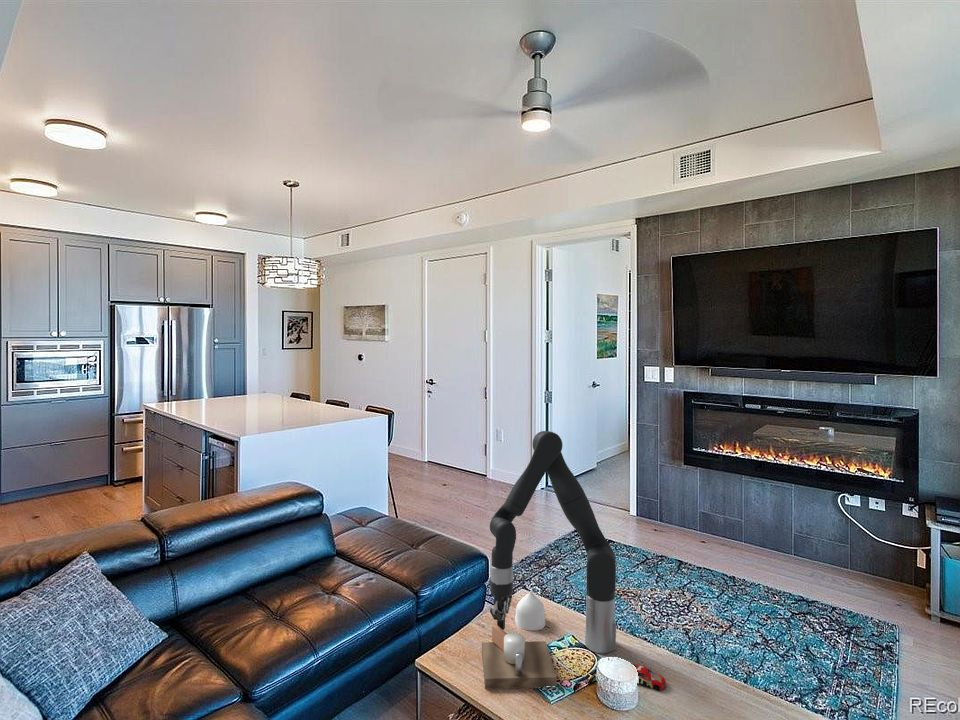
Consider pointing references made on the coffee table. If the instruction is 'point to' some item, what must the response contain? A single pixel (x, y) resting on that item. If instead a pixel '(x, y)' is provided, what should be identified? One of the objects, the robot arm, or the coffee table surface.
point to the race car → (650, 678)
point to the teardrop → (530, 613)
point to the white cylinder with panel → (508, 643)
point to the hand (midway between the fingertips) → (500, 629)
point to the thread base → (529, 667)
